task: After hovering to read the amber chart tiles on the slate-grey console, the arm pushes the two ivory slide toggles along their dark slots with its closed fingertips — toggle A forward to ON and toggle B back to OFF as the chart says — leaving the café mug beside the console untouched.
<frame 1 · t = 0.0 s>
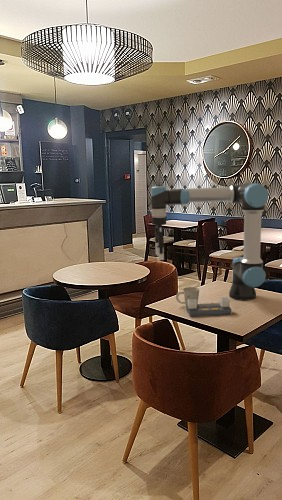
hand: (159, 257, 207), 28 cm above the table, fingers open, 13 cm apart
toggle A: (224, 302, 203), point 5 cm above the table, slide at 0.0 cm
console: (208, 312, 204), on the table
toggle B: (192, 303, 202), point 5 cm above the table, slide at 6.0 cm
mug: (187, 307, 213), on the table
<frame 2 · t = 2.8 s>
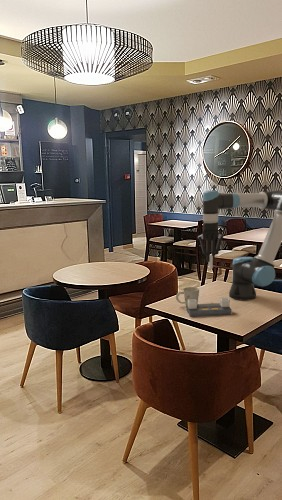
hand: (210, 268, 201), 23 cm above the table, fingers closed
nothing on the table moved.
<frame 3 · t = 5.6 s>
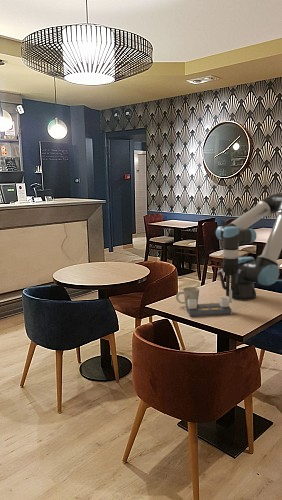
hand: (229, 302, 203), 5 cm above the table, fingers closed
toggle A: (224, 302, 203), point 5 cm above the table, slide at 0.2 cm, touching gripper
everything else where it was.
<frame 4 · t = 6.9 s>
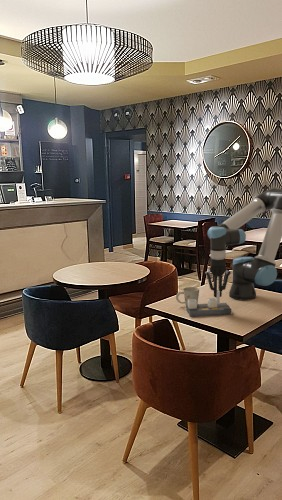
hand: (217, 302, 203), 5 cm above the table, fingers closed
toggle A: (212, 302, 203), point 5 cm above the table, slide at 6.5 cm, touching gripper
everything else where it was.
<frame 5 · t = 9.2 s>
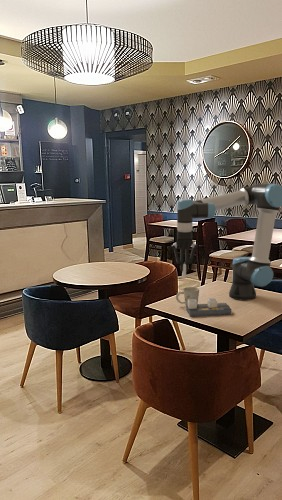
hand: (184, 277, 199), 19 cm above the table, fingers closed
toggle A: (212, 302, 203), point 5 cm above the table, slide at 6.5 cm
everything else where it was.
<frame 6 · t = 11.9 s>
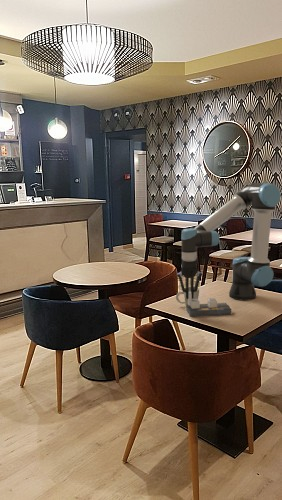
hand: (189, 304, 202), 5 cm above the table, fingers closed
toggle B: (195, 303, 202), point 5 cm above the table, slide at 4.5 cm, touching gripper
everything else where it was.
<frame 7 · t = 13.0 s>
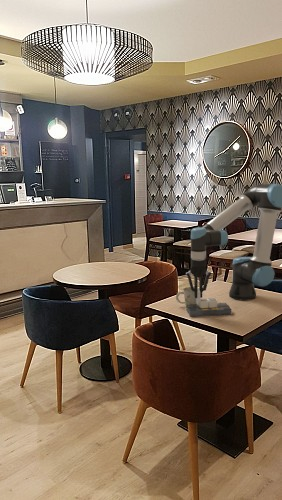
hand: (198, 303, 202), 5 cm above the table, fingers closed
toggle B: (203, 303, 202), point 5 cm above the table, slide at 0.0 cm, touching gripper
everything else where it was.
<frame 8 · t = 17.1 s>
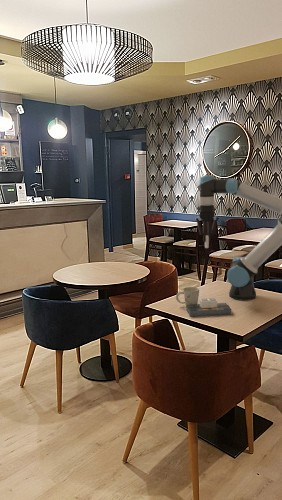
hand: (206, 247, 217), 30 cm above the table, fingers closed
toggle B: (204, 303, 203), point 5 cm above the table, slide at -0.4 cm
everything else where it was.
at the end: toggle A slide at 6.5 cm; toggle B slide at -0.4 cm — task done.
